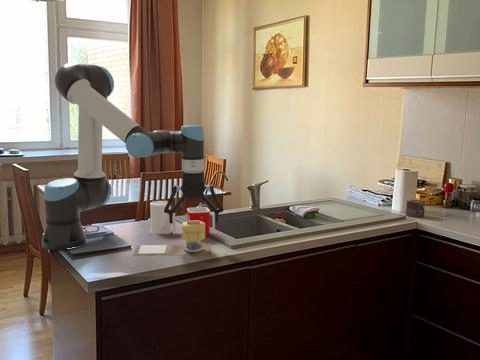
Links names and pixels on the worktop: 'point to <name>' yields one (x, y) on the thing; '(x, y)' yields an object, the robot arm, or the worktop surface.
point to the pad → (152, 249)
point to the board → (177, 251)
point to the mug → (159, 218)
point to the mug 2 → (200, 217)
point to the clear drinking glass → (193, 247)
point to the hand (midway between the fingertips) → (194, 232)
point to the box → (415, 208)
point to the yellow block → (193, 230)
